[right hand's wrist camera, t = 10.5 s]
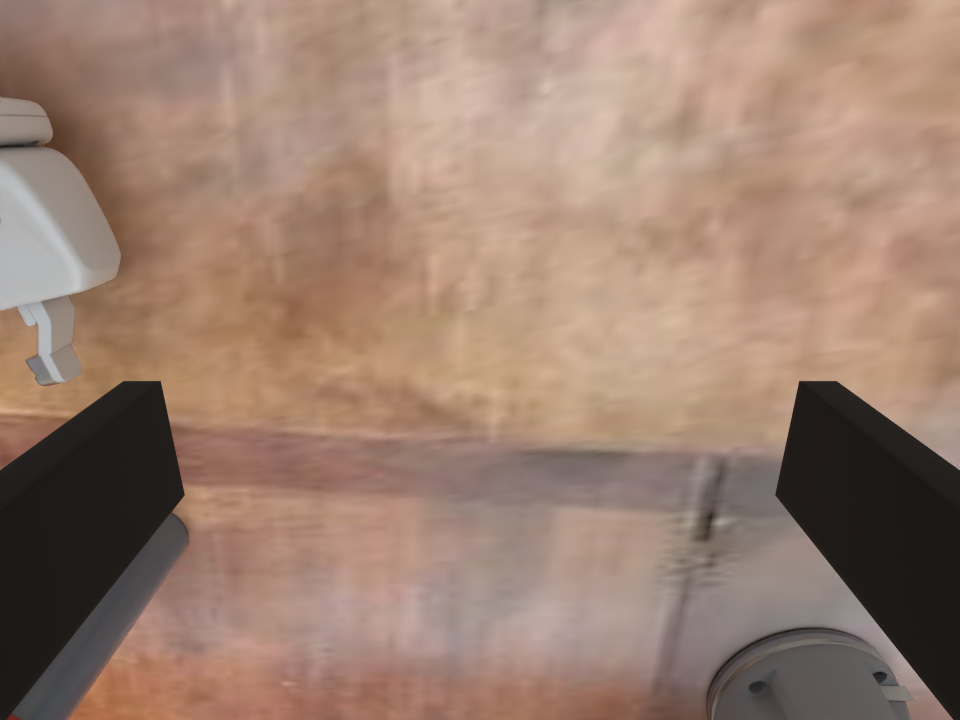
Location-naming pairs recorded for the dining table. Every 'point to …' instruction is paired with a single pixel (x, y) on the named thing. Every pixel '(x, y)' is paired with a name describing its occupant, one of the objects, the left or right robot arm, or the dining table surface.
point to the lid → (12, 718)
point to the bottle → (104, 628)
